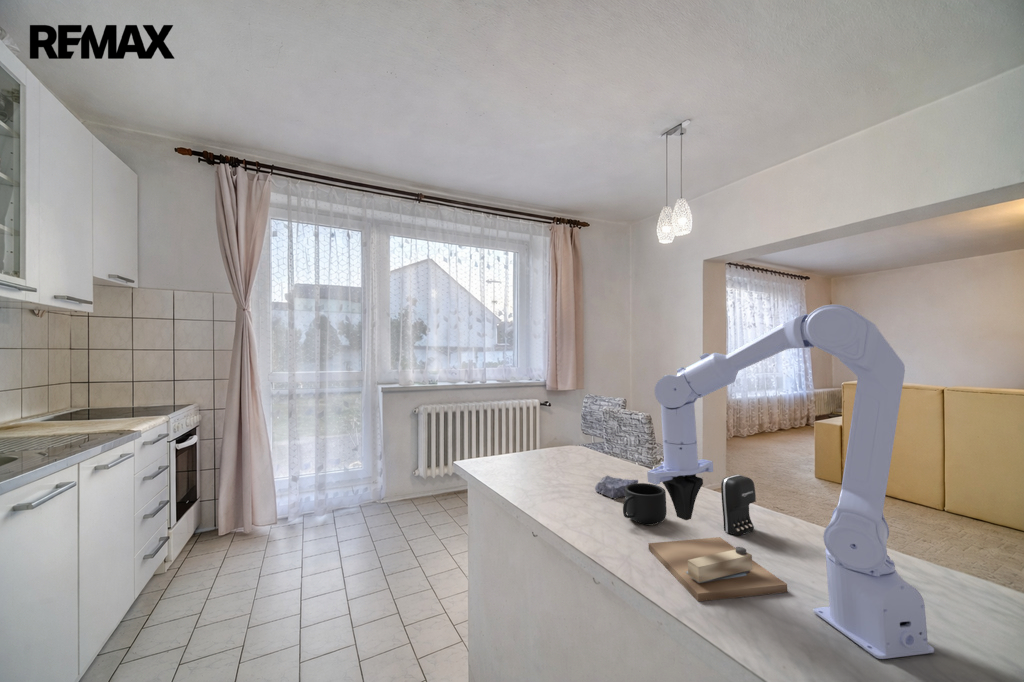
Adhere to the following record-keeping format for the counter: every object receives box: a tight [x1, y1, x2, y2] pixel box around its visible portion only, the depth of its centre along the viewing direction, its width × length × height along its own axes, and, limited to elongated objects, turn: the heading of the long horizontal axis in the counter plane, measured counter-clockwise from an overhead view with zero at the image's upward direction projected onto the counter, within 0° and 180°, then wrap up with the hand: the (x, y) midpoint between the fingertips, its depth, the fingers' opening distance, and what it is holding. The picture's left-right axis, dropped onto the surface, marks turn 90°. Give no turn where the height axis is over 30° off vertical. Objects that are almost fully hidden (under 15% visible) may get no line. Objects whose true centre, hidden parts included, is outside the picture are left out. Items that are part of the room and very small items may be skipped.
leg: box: [688, 546, 753, 582], centre depth 66 cm, size 11×2×3 cm, turn 107°
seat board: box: [648, 536, 789, 602], centre depth 70 cm, size 17×15×2 cm
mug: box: [622, 482, 668, 526], centre depth 91 cm, size 12×9×7 cm
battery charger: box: [720, 474, 757, 536], centre depth 85 cm, size 7×4×11 cm, turn 117°
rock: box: [594, 475, 639, 499], centre depth 111 cm, size 12×5×10 cm
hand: (684, 517), depth 71 cm, fingers closed
